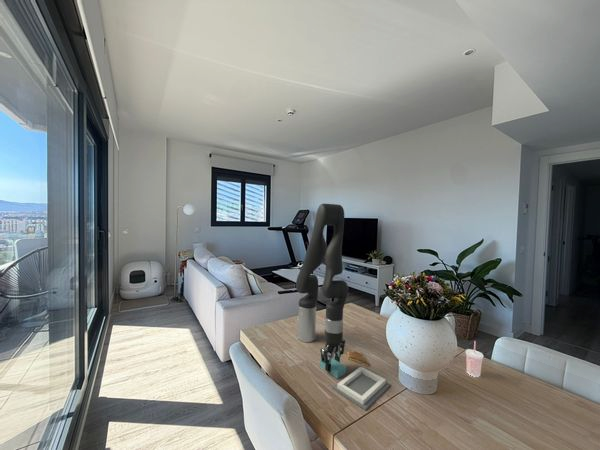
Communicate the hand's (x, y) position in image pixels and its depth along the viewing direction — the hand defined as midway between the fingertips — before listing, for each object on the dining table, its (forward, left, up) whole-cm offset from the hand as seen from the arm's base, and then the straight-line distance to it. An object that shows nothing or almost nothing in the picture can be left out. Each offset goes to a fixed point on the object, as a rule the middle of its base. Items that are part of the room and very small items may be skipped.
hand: (332, 368), depth 103 cm
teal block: (0, 0, -1) cm, 1 cm away
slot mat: (+14, 0, -1) cm, 14 cm away
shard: (+3, +16, -1) cm, 16 cm away
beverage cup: (+41, +42, -1) cm, 59 cm away
